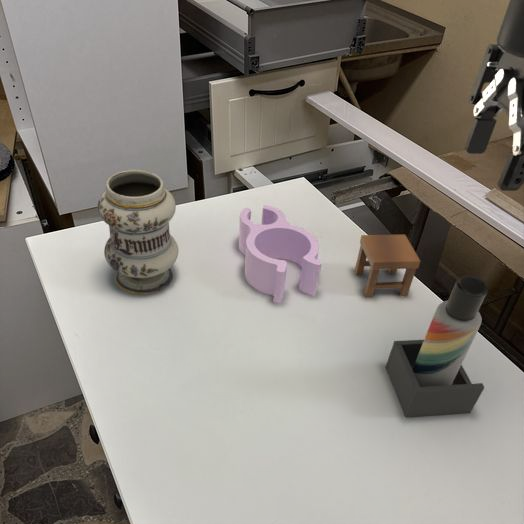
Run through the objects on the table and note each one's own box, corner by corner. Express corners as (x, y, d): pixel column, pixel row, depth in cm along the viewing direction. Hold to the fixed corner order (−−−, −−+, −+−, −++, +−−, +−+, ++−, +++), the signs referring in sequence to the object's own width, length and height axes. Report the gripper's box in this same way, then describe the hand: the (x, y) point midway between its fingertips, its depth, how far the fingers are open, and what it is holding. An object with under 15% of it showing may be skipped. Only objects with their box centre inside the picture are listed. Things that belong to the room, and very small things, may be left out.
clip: (223, 243, 100) (223, 211, 95) (282, 233, 104) (285, 201, 99) (262, 308, 87) (265, 275, 83) (328, 294, 91) (335, 261, 86)
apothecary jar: (149, 309, 85) (137, 211, 73) (94, 282, 89) (74, 184, 77) (193, 273, 93) (190, 179, 80) (141, 250, 97) (130, 156, 84)
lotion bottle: (425, 371, 80) (470, 263, 65) (453, 396, 76) (507, 289, 62) (398, 385, 77) (439, 276, 63) (425, 412, 74) (475, 303, 60)
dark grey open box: (444, 365, 81) (456, 337, 77) (469, 415, 74) (484, 387, 70) (384, 369, 79) (394, 340, 75) (404, 419, 73) (416, 391, 69)
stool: (394, 271, 98) (405, 234, 92) (408, 298, 92) (420, 261, 86) (352, 272, 96) (361, 235, 91) (364, 300, 91) (374, 262, 85)
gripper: (651, 15, 41) (555, 203, 52) (557, -24, 51) (493, 142, 62) (563, 10, 40) (484, 203, 51) (485, -29, 50) (433, 140, 61)
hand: (489, 169), depth 57 cm, fingers open, 8 cm apart
